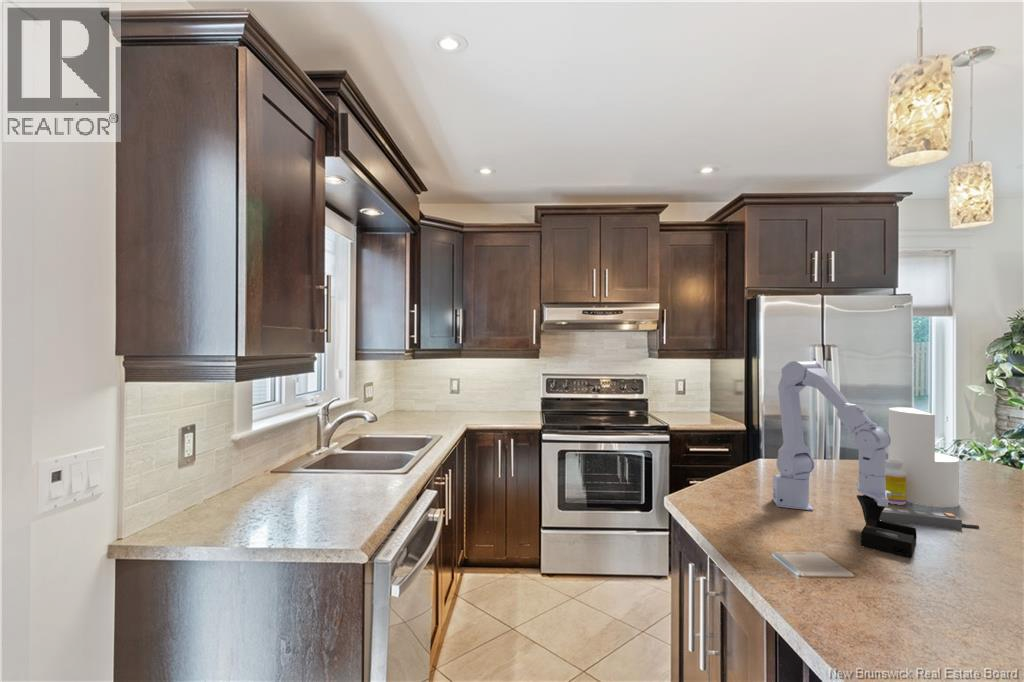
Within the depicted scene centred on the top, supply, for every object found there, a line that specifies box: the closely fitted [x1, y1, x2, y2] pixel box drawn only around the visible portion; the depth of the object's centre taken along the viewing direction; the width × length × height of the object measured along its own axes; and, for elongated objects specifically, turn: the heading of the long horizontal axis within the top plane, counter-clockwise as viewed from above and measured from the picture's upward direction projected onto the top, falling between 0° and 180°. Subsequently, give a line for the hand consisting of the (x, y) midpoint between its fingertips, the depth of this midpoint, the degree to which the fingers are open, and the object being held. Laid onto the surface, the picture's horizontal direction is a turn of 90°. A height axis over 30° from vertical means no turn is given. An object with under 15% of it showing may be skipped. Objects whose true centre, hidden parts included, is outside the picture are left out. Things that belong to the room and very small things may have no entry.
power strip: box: [879, 506, 980, 530], centre depth 131 cm, size 25×5×3 cm, turn 72°
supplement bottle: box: [885, 458, 907, 506], centre depth 148 cm, size 7×7×13 cm
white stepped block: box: [887, 407, 960, 508], centre depth 152 cm, size 17×17×28 cm
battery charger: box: [860, 518, 918, 560], centre depth 117 cm, size 13×10×4 cm
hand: (871, 524), depth 125 cm, fingers closed
